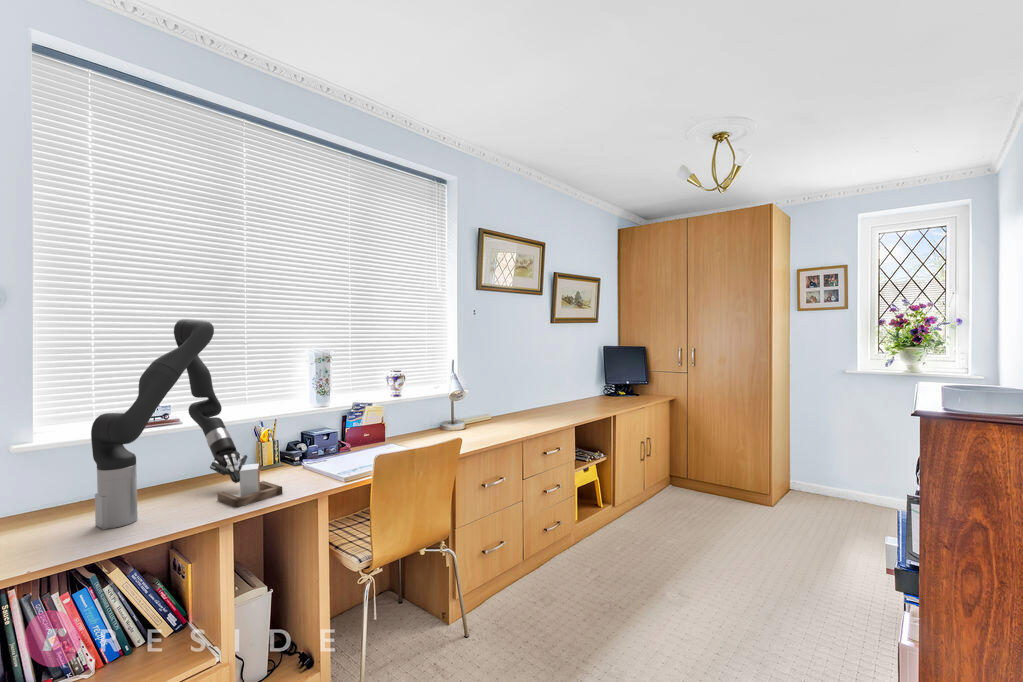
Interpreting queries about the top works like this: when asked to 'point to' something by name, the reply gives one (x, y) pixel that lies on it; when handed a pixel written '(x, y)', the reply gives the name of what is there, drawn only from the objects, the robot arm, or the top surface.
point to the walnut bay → (251, 495)
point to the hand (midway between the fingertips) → (238, 481)
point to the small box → (249, 479)
